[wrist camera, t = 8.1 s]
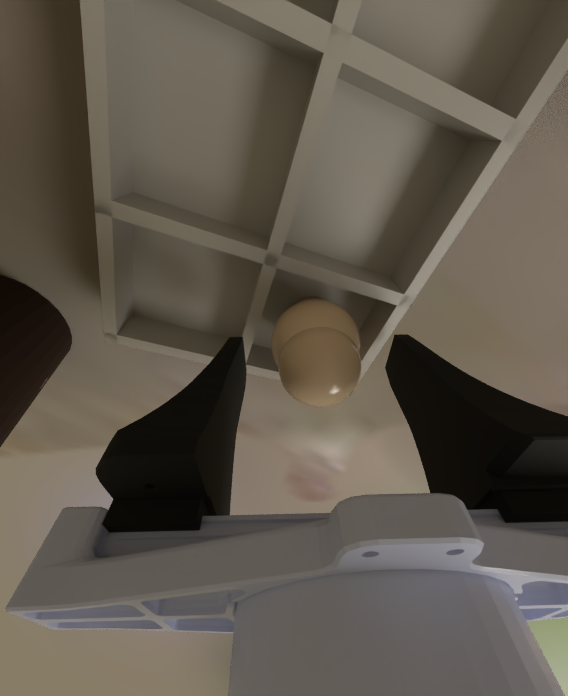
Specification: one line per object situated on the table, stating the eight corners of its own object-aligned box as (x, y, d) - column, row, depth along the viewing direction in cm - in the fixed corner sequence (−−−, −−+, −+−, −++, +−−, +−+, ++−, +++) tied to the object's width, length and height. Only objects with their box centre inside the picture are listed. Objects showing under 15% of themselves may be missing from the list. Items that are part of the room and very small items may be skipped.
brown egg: (354, 282, 15) (391, 351, 10) (343, 348, 17) (369, 428, 12) (270, 283, 15) (267, 352, 10) (272, 350, 17) (271, 430, 12)
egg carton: (631, -134, 8) (781, -249, 6) (340, 364, 19) (349, 396, 17) (125, -560, 5) (-2, -1143, 3) (129, 311, 16) (103, 341, 14)
